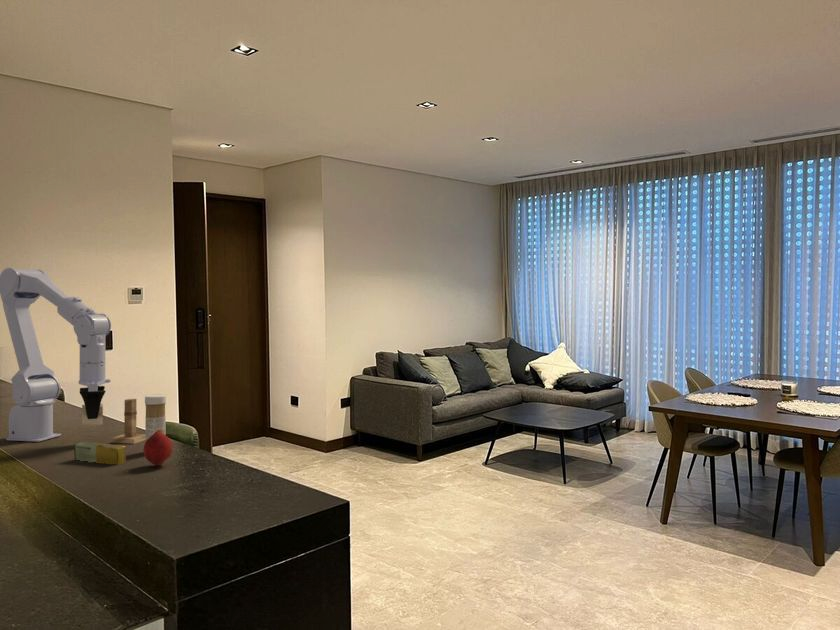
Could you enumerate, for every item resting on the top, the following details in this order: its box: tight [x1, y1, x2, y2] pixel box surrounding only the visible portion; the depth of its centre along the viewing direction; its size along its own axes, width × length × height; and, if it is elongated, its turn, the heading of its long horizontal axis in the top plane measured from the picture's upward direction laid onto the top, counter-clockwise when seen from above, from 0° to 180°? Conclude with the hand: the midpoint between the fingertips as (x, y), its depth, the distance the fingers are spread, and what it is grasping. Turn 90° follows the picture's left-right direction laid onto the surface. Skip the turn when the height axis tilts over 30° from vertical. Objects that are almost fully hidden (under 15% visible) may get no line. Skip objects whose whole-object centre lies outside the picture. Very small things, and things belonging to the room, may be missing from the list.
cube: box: [81, 403, 104, 427], centre depth 156 cm, size 4×4×4 cm
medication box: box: [73, 441, 127, 466], centre depth 139 cm, size 12×3×4 cm, turn 74°
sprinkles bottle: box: [144, 393, 167, 442], centre depth 148 cm, size 5×5×14 cm
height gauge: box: [111, 398, 146, 445], centre depth 160 cm, size 6×6×11 cm
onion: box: [143, 429, 174, 467], centre depth 135 cm, size 6×6×8 cm
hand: (92, 417), depth 156 cm, fingers closed on cube, 4 cm apart
